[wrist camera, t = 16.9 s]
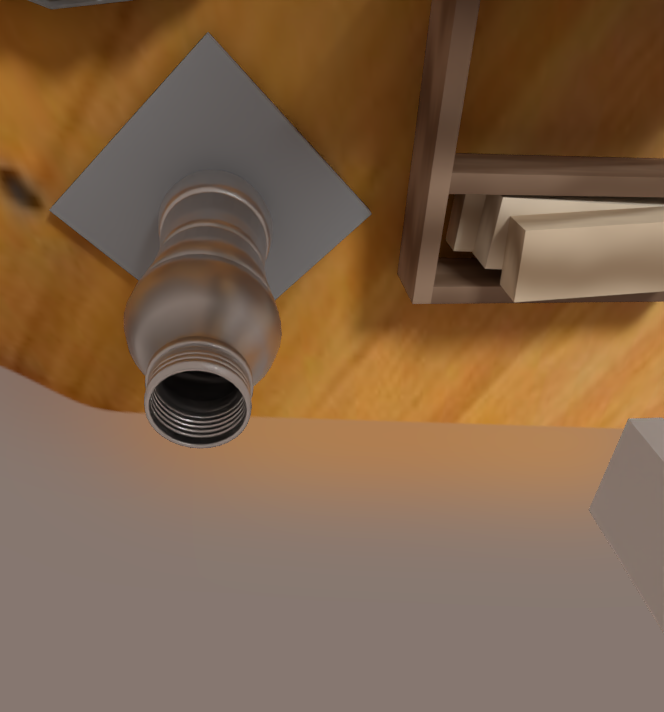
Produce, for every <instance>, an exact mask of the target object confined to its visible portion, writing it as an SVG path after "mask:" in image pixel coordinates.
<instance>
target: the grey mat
mask: <svg viewBox="0 0 664 712" xmlns="http://www.w3.org/2000/svg"><path fill="white" fill-rule="evenodd" d="M203 170H220V171H226V172H229V173H232V174H234V175H237V176H239V177H240V178H242V179H244V180H245V181H247V182H248V183H249V184H250V185H251V186H252V187H254V188H255V190H256V191H257V192H258V194H259V195H260V196H261V198H262V199H263V201H264V202H265V204H266V206H267V208H268V210H269V212H270V216H271V219H272V226H273V235H272V242H271V246H270V250H269V253H268V256H267V258H266V260H265V266H264V268H265V273H266V279H267V283H268V285H269V287H270V290H271V292H272V295H273V298H274V300H276V299H277V298H278V297H279V296H280V295H281V294H282V293H283V292H285V291H286V290H287V289H288V288H289V287H290V286H291V285H292V284H294V283H295V282H296V281H297V280H298V279H299V278H300V277H301V276H303V275H304V274H305V273H306V272H307V271H308V270H309V269H310V268H312V267H313V266H314V265H315V264H316V263H317V262H318V261H319V260H321V259H322V258H323V257H324V256H325V255H326V254H327V253H328V252H330V251H331V250H332V249H333V248H334V247H335V246H336V245H337V244H338V243H340V242H341V241H342V240H343V239H344V238H345V237H346V236H347V235H349V234H350V233H351V232H352V231H353V230H354V229H355V228H356V227H358V226H359V225H360V224H361V223H362V222H363V221H364V220H365V219H367V218H368V217H369V216H370V215H371V212H370V210H369V209H368V208H367V206H366V205H365V204H364V203H363V202H362V201H361V200H360V199H359V198H358V197H357V195H356V194H355V193H354V192H353V191H352V190H351V189H350V188H349V187H348V185H347V184H346V183H345V182H344V181H343V180H342V179H341V178H340V177H339V176H338V174H337V173H336V172H335V171H334V170H333V169H332V168H331V167H330V166H329V165H328V163H327V162H326V161H325V160H324V159H323V158H322V157H321V156H320V155H319V153H318V152H317V151H316V150H315V149H314V148H313V147H312V146H311V145H310V144H309V142H308V141H307V140H306V139H305V138H304V137H303V136H302V135H301V134H300V133H299V131H298V130H297V129H296V128H295V127H294V126H293V125H292V124H291V123H290V122H289V120H288V119H287V118H286V117H285V116H284V115H283V114H282V113H281V112H280V110H279V109H278V108H277V107H276V106H275V105H274V104H273V103H272V102H271V101H270V99H269V98H268V97H267V96H266V95H265V94H264V93H263V92H262V91H261V90H260V88H259V87H258V86H257V85H256V84H255V83H254V82H253V81H252V80H251V79H250V77H249V76H248V75H247V74H246V73H245V72H244V71H243V70H242V69H241V67H240V66H239V65H238V64H237V63H236V62H235V61H234V60H233V59H232V58H231V56H230V55H229V54H228V53H227V52H226V51H225V50H224V49H223V48H222V47H221V45H220V44H219V43H218V42H217V41H216V40H215V39H214V38H213V37H212V35H211V34H210V33H209V32H207V33H206V35H205V36H204V37H203V38H202V39H201V40H200V41H199V42H198V43H197V45H196V46H195V47H194V48H193V49H192V50H191V51H190V52H189V54H188V55H187V56H186V57H185V58H184V59H183V60H182V61H181V63H180V64H179V65H178V66H177V67H176V68H175V69H174V70H173V72H172V73H171V74H170V75H169V76H168V77H167V78H166V79H165V80H164V82H163V83H162V84H161V85H160V86H159V87H158V88H157V89H156V91H155V92H154V93H153V94H152V95H151V96H150V97H149V98H148V100H147V101H146V102H145V103H144V104H143V105H142V106H141V107H140V109H139V110H138V111H137V112H136V113H135V114H134V115H133V116H132V117H131V119H130V120H129V121H128V122H127V123H126V124H125V125H124V126H123V128H122V129H121V130H120V131H119V132H118V133H117V134H116V135H115V137H114V138H113V139H112V140H111V141H110V142H109V143H108V144H107V146H106V147H105V148H104V149H103V150H102V151H101V152H100V153H99V154H98V156H97V157H96V158H95V159H94V160H93V161H92V162H91V163H90V165H89V166H88V167H87V168H86V169H85V170H84V171H83V172H82V174H81V175H80V176H79V177H78V178H77V179H76V180H75V181H74V183H73V184H72V185H71V186H70V187H69V188H68V189H67V190H66V191H65V193H64V194H63V195H62V196H61V197H60V198H59V199H58V200H57V202H56V203H55V204H54V205H53V206H52V207H51V209H50V210H49V211H51V212H52V213H53V214H55V215H56V216H57V217H58V218H60V219H61V220H62V221H64V222H65V223H66V224H67V225H69V226H70V227H71V228H72V229H74V230H75V231H76V232H78V233H79V234H80V235H81V236H83V237H84V238H85V239H86V240H88V241H89V242H90V243H92V244H93V245H94V246H95V247H97V248H98V249H99V250H100V251H102V252H103V253H104V254H106V255H107V256H108V257H109V258H111V259H112V260H113V261H115V262H116V263H117V264H118V265H120V266H121V267H122V268H123V269H125V270H126V271H127V272H129V273H130V274H131V275H132V276H134V277H135V278H136V279H137V280H140V279H141V278H142V276H143V275H144V274H145V272H146V271H147V270H148V269H149V267H150V266H151V265H152V263H153V262H154V260H155V258H156V256H157V254H158V251H159V249H160V238H159V233H158V218H159V210H160V207H161V203H162V201H163V199H164V197H165V196H166V194H167V193H168V192H169V190H170V189H171V188H172V187H173V186H174V185H175V184H177V183H178V182H179V181H181V180H182V179H183V178H185V177H186V176H188V175H190V174H193V173H195V172H199V171H203Z"/></svg>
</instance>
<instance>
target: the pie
mask: <svg viewBox="0 0 664 712" xmlns="http://www.w3.org/2000/svg"><path fill="white" fill-rule="evenodd" d="M28 1H31V2H33V3H36V4H39V5H41V6H44V7H46V8H49V9H59V8H68V7H77V6H86V5H95V4H104V3H113V2H122V1H131V0H28Z"/></svg>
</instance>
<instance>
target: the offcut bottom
mask: <svg viewBox="0 0 664 712" xmlns="http://www.w3.org/2000/svg"><path fill="white" fill-rule="evenodd" d="M485 199H486V195H483V194H455V195H454V200H453V205H452V210H451V215H450V220H449V225H448V230H447V235H446V239H445V240H446V241H447V243H448V244H449V245H450V247H451V248H452V250H453V251H465V252H473V249H474V245H475V241H476V236H477V232H478V228H479V224H480V220H481V215H482V211H483V207H484V203H485Z"/></svg>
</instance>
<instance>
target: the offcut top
mask: <svg viewBox="0 0 664 712" xmlns="http://www.w3.org/2000/svg"><path fill="white" fill-rule="evenodd" d="M500 285H501V287H502V288H503V289H504V290H505V292H506V293H507V294H508V295H509V297H510V298H511V299H512V300H513V302H526V301H540V300H553V299H567V298H580V297H594V296H607V295H621V294H635V293H648V292H662V291H664V206H662V207H645V208H629V209H613V210H597V211H581V212H565V213H549V214H533V215H518V216H510V220H509V227H508V234H507V240H506V247H505V254H504V260H503V267H502V273H501V280H500Z"/></svg>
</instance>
